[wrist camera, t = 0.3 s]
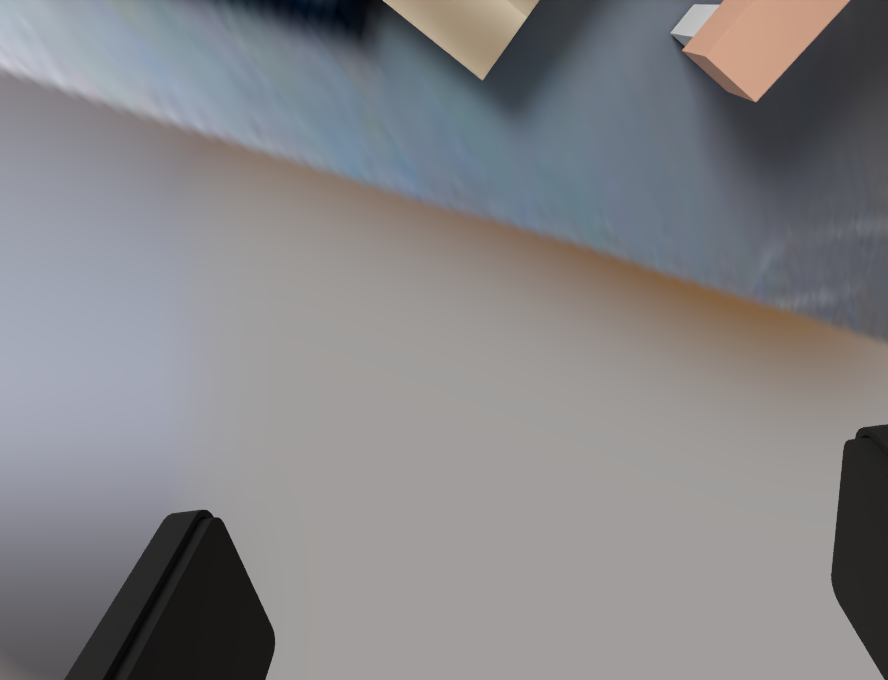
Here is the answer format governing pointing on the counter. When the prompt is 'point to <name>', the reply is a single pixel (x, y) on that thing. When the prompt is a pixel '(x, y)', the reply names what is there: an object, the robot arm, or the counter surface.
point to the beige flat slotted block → (468, 26)
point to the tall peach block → (752, 39)
